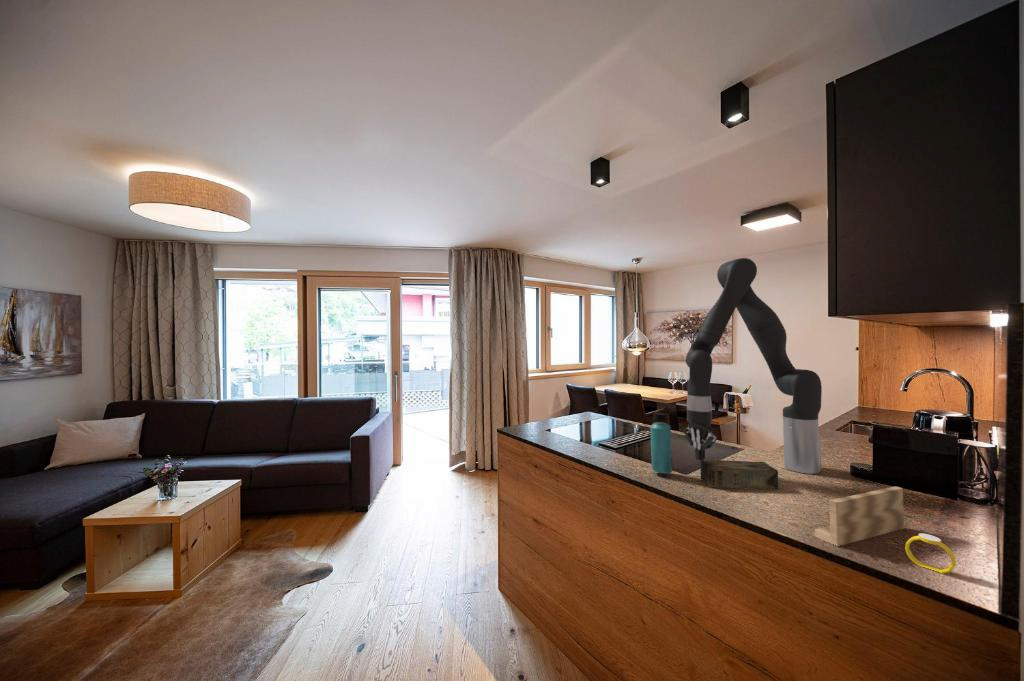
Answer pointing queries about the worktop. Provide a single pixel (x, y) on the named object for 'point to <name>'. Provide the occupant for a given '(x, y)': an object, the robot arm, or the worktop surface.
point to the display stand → (863, 516)
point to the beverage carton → (739, 474)
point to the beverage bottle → (661, 445)
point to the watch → (935, 541)
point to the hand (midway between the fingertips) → (700, 459)
